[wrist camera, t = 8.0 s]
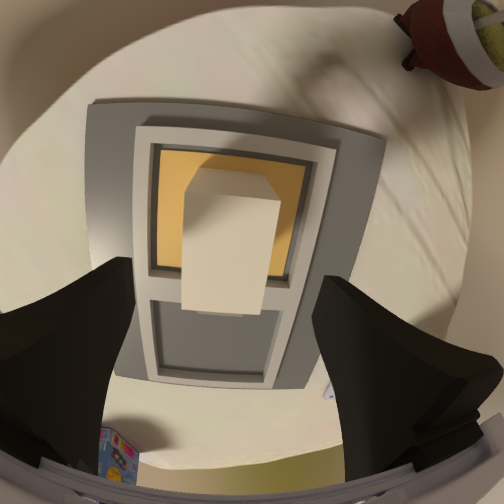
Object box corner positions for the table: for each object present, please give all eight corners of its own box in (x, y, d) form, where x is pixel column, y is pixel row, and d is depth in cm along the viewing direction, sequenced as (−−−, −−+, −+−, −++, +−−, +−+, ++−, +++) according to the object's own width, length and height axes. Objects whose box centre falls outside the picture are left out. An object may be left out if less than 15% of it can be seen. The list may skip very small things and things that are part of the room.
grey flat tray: (382, 139, 17) (393, 142, 16) (303, 385, 28) (306, 395, 27) (91, 104, 14) (80, 104, 13) (116, 371, 25) (113, 382, 24)
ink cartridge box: (142, 453, 36) (135, 524, 23) (115, 451, 36) (105, 518, 23) (113, 427, 31) (98, 511, 18) (85, 424, 31) (67, 501, 18)
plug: (263, 173, 17) (281, 200, 12) (249, 267, 20) (258, 323, 15) (198, 167, 17) (184, 191, 11) (192, 262, 19) (181, 318, 14)
